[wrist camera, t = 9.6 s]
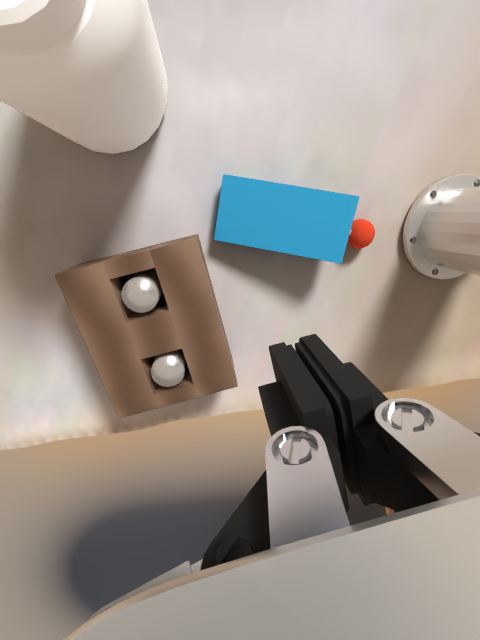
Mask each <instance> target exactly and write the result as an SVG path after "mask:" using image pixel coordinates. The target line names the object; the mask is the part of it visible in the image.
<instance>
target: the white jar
mask: <svg viewBox="0 0 480 640" xmlns="http://www.w3.org/2000/svg"><path fill="white" fill-rule="evenodd" d="M167 87H168V82H167V77H166V73H165V69H164V64H163V60H162V56H161V52H160V48H159V45H158V41H157V37H156V33H155V29H154V26H153V22H152V18H151V14H150V10H149V7H148V3H147V0H0V101H2V102H4V103H5V104H7V105H9V106H11V107H13V108H14V109H16V110H18V111H20V112H22V113H23V114H25V115H27V116H29V117H31V118H32V119H34V120H36V121H38V122H40V123H41V124H43V125H45V126H47V127H49V128H50V129H52V130H54V131H56V132H58V133H59V134H61V135H63V136H65V137H67V138H68V139H70V140H72V141H74V142H76V143H78V144H80V145H82V146H84V147H86V148H88V149H90V150H92V151H96V152H103V153H109V154H116V153H121V152H126V151H132V150H133V149H135V148H137V147H138V146H140V145H141V144H143V143H145V142H146V141H148V140H149V138H150V137H151V136H152V135H153V133H154V132H155V131H156V129H157V128H158V127H159V126H160V123H161V120H162V117H163V114H164V112H165V109H166V106H167Z"/></svg>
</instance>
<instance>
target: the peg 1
mask: <svg viewBox="0 0 480 640" xmlns="http://www.w3.org/2000/svg"><path fill="white" fill-rule="evenodd" d="M162 292H163V290H162V287H161V284H160V281H159V278H158V275H157V272H156V269H155V268H152V269H148V270H144V271H140V272H138V273H136V274H135V275H134V276H133V277H132V278H131V279H130V280H129V281H128V282H126V283H125V285H124V286H123V288H122V293H121V294H122V300H123V302H124V304H125V305H126V306H127V307H128V308H129V309H131V310H132V311H135V312H139V313H144V312H148V311H150V310H152V309H153V308H154V307H155V306H156V304H157V302H158V300H159V298H160V296H161V294H162Z"/></svg>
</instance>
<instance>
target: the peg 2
mask: <svg viewBox="0 0 480 640" xmlns="http://www.w3.org/2000/svg"><path fill="white" fill-rule="evenodd" d="M185 364H186V359H185V356H184V353H183V350H182V349H178V350H174V351H171V352H167V353H163V354H159V355H156V356H155V359H154V362H153V365H152V368H151V375H152V378H153V380H154V381H155V382H156V383H157V384H159V385H161V386H165V387H171V386H175V385H177V384H178V383H180V382H181V380H182V379H183V377H184V372H185Z"/></svg>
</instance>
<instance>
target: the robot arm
mask: <svg viewBox="0 0 480 640" xmlns="http://www.w3.org/2000/svg"><path fill="white" fill-rule="evenodd" d="M403 246H404V251H405V254H406V257H407V259H408V261H409V262H410V264H411V265H412V266H413V268H415V269H416V270H417V271H418V272H420V273H421V274H423V275H425V276H428V277H432V278H436V279H451V278H455V277H459V276H461V275H463V274H466V273H470V274H474V275H479V276H480V176H476V175H473V174H459V175H453V176H449V177H445V178H443V179H441V180H439V181H436V182H435V183H433V184H432V185H431V186H429V187H428V188H427V189H426V190H425V191H424V192H423V193H422V194H420V195H419V197H418V198H417V199H416V201H415V202H414V204H413V205H412V207H411V209H410V211H409V213H408V215H407V218H406V221H405V224H404V230H403ZM295 349H296V351H295V350H294V348H293V347H292V345H287V346H286V344H285V343H284V342H282V343H279V344H275V345H271V346H269V351H270V356H271V360H272V364H273V369H274V373H275V377H276V382H274V383H270V384H266V385H263V386H259V387H258V388H259V393H260V397H261V401H262V404H263V408H264V412H265V416H266V419H267V423H268V427H269V430H270V433H271V438H270V439H269V441H268V443H267V444H266V450H265V453H266V470H265V472H264V473H263V474H262V476H261V477H260V479H259V480H258V481H257V482H256V484H255V485H254V487H253V488H252V489H251V490H250V492H249V493H248V494H247V496H246V497H245V498H244V500H243V501H242V502H241V504H240V505H239V506H238V508H237V509H236V510H235V512H234V513H233V514H232V516H231V517H230V518H229V520H228V521H227V522H226V524H225V525H224V526H223V528H222V529H221V530H220V532H219V533H218V535H217V536H216V537H215V538H214V540H213V541H212V542H211V544H210V545H209V547H208V549H207V550H206V552H205V554H204V557H203V559H202V560H200V561H199V562H197V563H195V564H193V565H190V563H189V561H187V562H185V563H183V564H181V565H179V566H178V567H176V568H174V569H172V570H170V571H168V572H166V573H165V574H163V575H161V576H159V577H157V578H155V579H154V580H152V581H150V582H148V583H146V584H144V585H142V586H141V587H139V588H137V589H135V590H133V591H131V592H130V593H128V594H126V595H124V596H122V597H120V598H119V599H117V600H115V601H113V602H111V603H109V604H108V605H106V606H104V607H102V608H101V609H100V610H98V611H97V612H96V613H94V614H93V615H91V616H90V618H89V619H88V620H87V621H86V622H85V623H84V624H83V625H81V626H80V627H79V628H77V629H76V630H74V631H73V632H72V633H70V634H69V635H68V636H66V637H65V638H63V639H62V640H480V434H479V433H475V432H472V431H470V430H469V429H467V428H466V427H464V426H463V425H461V424H460V423H458V422H456V421H455V420H453V419H452V418H450V417H449V416H447V415H446V414H444V413H442V412H441V411H439V410H438V409H436V408H435V407H433V406H432V405H430V404H428V403H426V402H424V401H421V400H417V399H413V398H394V399H390V400H388V399H387V398H386V397H385V396H384V395H383V394H382V393H381V392H380V391H379V390H378V389H377V388H376V387H375V386H374V385H373V384H372V383H371V382H370V381H369V380H368V379H367V378H366V376H365V375H364V374H363V373H362V372H361V371H360V370H359V369H358V368H357V367H356V366H355V365H354V364H352V363H351V362H348V363H344V364H343V363H342V362H341V361H340V360H339V359H338V358H337V356H336V355H335V354H334V353H333V352H332V351H331V350H330V349H329V348H328V347H327V346H326V345H325V344H324V342H323V341H322V340H321V339H320V338H319V337H318V336H317V335H316V334H312V335H309V336H305V337H301V338H300V339H299V342H298V343H295ZM345 484H346V486H347V487H348V489H349V491H350V492H351V494H356V493H358V495H359V497H360V498H361V500H362V502H363V504H364V505H369V504H372V503H377V504H380V505H382V506H385V509H386V513H387V515H386V516H383V517H379V518H376V519H372V520H369V521H366V522H362V523H358V524H355V525H352V526H350V524H349V521H348V518H347V514H346V513H347V511H348V509H349V506H348V500H347V493H346V488H345Z"/></svg>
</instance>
